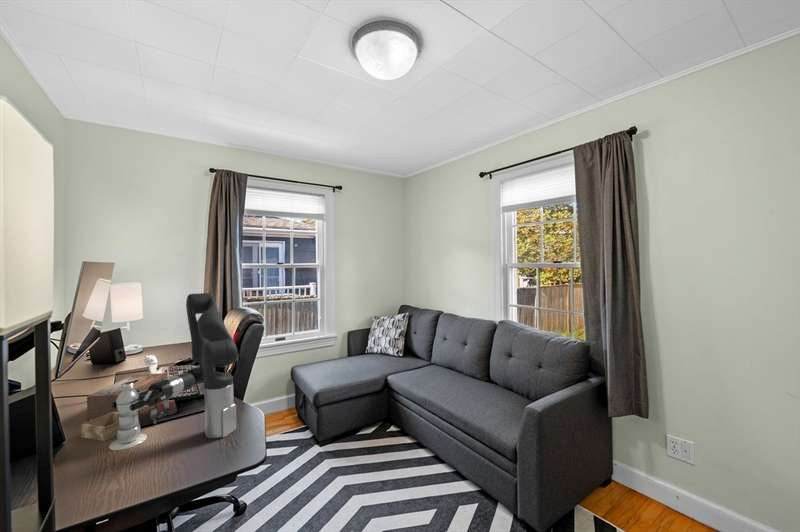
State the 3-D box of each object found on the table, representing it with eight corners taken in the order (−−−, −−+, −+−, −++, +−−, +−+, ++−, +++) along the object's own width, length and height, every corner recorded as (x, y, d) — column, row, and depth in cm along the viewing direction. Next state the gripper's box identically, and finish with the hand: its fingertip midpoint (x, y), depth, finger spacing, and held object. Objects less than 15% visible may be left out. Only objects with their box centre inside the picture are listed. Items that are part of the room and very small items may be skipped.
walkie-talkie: (149, 410, 140) (151, 427, 124) (149, 399, 140) (151, 416, 124) (174, 404, 146) (179, 420, 130) (174, 394, 146) (178, 409, 130)
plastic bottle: (113, 447, 110) (111, 388, 109) (121, 438, 116) (119, 381, 116) (137, 443, 112) (135, 385, 112) (143, 434, 118) (142, 378, 118)
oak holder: (136, 426, 125) (135, 414, 125) (104, 441, 115) (104, 428, 115) (113, 423, 128) (113, 411, 128) (81, 437, 118) (80, 424, 118)
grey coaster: (153, 436, 117) (153, 435, 117) (124, 452, 108) (124, 451, 108) (132, 433, 120) (132, 432, 120) (101, 448, 110) (101, 447, 110)
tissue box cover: (133, 395, 156) (133, 374, 156) (166, 393, 157) (165, 373, 157) (87, 421, 130) (86, 396, 130) (126, 419, 132) (125, 394, 132)
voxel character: (149, 382, 158) (143, 354, 163) (143, 392, 164) (138, 365, 169) (166, 378, 163) (160, 351, 169) (160, 388, 169) (154, 361, 175)
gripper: (152, 377, 129) (106, 393, 114) (181, 380, 126) (137, 397, 110) (152, 396, 129) (106, 415, 114) (181, 400, 126) (137, 419, 110)
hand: (121, 406), depth 112 cm, fingers open, 8 cm apart
